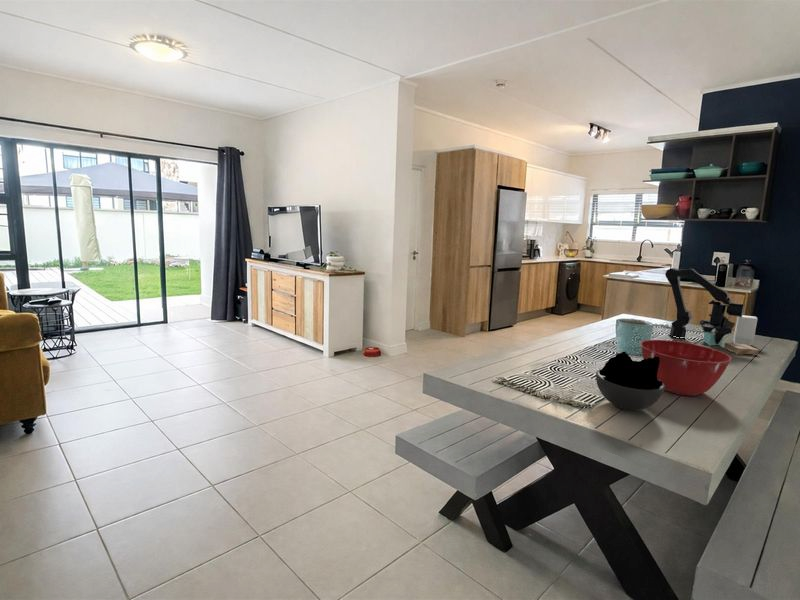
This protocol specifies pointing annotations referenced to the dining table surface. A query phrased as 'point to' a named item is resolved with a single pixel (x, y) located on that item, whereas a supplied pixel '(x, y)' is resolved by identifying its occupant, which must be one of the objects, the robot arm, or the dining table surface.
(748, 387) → the dining table surface
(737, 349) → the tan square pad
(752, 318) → the skincare box
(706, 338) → the teal block
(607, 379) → the coal bowl
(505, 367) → the dining table surface
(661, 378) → the mixing bowl
